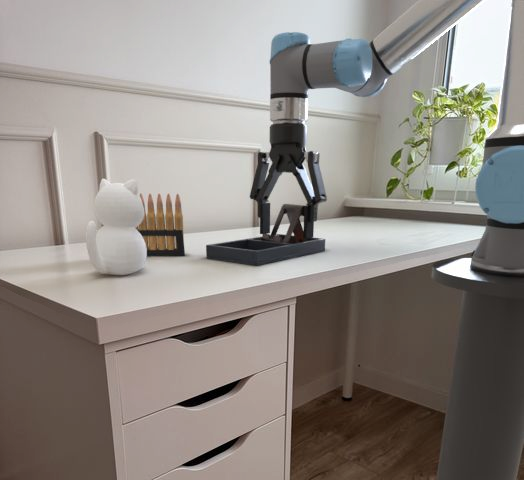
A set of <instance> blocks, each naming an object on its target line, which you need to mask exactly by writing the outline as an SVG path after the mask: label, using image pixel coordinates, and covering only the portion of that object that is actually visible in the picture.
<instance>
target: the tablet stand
mask: <svg viewBox="0 0 524 480" xmlns="http://www.w3.org/2000/svg"><path fill="white" fill-rule="evenodd" d="M304 206H305V205H303V204H293V203H283V204H282V206H281V208H280V210H279V212H278V215H277V217H276V220H275V222H274V225H273V228H272V230H271V232H270V233H268V234H265V233H264V234H261V235H262V236H261V237H262V241H270V242H278V243H287V244H288V243H289V240H290V238H291V235H293V236H294V237H295V239H296V242H297V243H300V239H302V241H303V242H306V241H307V240H306V238H303V231H304V227H303V225H302V222H301V220H300V218H301V217H304ZM285 215H286V216H287V220H288V222H289V226H288V229H287V231H286V232H285V233H286V234H285V235H286V236H285V238H284V239H283V241H282V237H279V236H276V234H278V230H279V228H280V225H281V223H282V220H283V218H284V216H285Z"/></svg>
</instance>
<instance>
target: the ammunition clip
mask: <svg viewBox="0 0 524 480" xmlns="http://www.w3.org/2000/svg"><path fill="white" fill-rule="evenodd" d="M139 196H140V198H141V200H142V203H143V207H144V218H143V221H142V222H141V224H140V225H139V226H137V227H136V228H135V229H137V230H138V232H139V233H140V234H141V235H142V237H143V239H144V241H145V244H146V249H147V257H184V256H186V253H185V252H186V250H185V241H184V240H185V239H184V215H183V211H182V201H181V197H180V194H179V193H176V196H175V201H174V213H173V202H172V198H171V194H170V193H167V194H166V199H165V214H164V203H163V198H162V196H161V194H160V193H158V194H157V197H156V213H155V205H154V203H155V202H154V199H153V196H152V194H151V193H148V195H147V196H148V197H147V213H146V205H145V199H144V195H143V193H140V194H139Z"/></svg>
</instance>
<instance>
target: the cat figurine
mask: <svg viewBox="0 0 524 480" xmlns="http://www.w3.org/2000/svg"><path fill="white" fill-rule="evenodd" d="M93 211H94V214H95V217H96V219H97V220H98V221H99V223H100V224H101V225H103V226H101V227H100V228H99V229H98V230H97V225H96V222H95V221H94V220H89V222H88V223H87V225H86V228H85V244H86V245H85V246H86V250H87V254H88V257H89V258H88V259H89V260H90V263H91V265H92V267H93V269H95V271H96V272H98V273H99V274H102V275H111V276H126V275H130V274H133V273H136V272H138V271H140V270H142V269H143V268H144V266H145V265H146V262H147V258H148V256H147V249H146V244H145V241H144V239H143V237H142V235H141V234H140V233H139V232H138V230H137V229H135V228H136V227H137V226H138V227H139V225H140V224H141V222H142V221H143V218H144V207H143V203H142V200H141V198H140V194H139V185H138V181H137V179H136V178H131V179H129V180H128V181H126V182H124V183H123V182H110V181H109V180H108V179H106V178H102V179H101V180H100V183H99V188H98V192H97V194H96V195H95V198H94V203H93Z"/></svg>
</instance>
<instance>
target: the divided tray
mask: <svg viewBox="0 0 524 480" xmlns="http://www.w3.org/2000/svg"><path fill="white" fill-rule="evenodd" d="M276 236H279V237H282V241H283V239H284V238H285V236H286V234H284V233H283V234H282V233H276ZM306 240H307V241H306V242H303V241H302V239H300V243H297V242H296V239H295V237H294V234H292V235H291V238H290V240H289V243H288V244H287V243H278V242H270V241H262V236H256V237H249V238H243V239H236V240H230V241H223V242H216V243H210V244H206V245H205V253H206V254H205V255H206V256H205V257H206V259H210V260H215V261H223V262H228V263H235V264H236V263H237V264H242V265H250V266H256V267H257V266H261V265H266V264H271V263H275V262H279V261H284V260H289V259H294V258H298V257H303V256H308V255H312V254H316V253H320V252H325V251H326V238H324V237H323V238H322V237H314V236H313V237H312V238H306Z"/></svg>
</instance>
